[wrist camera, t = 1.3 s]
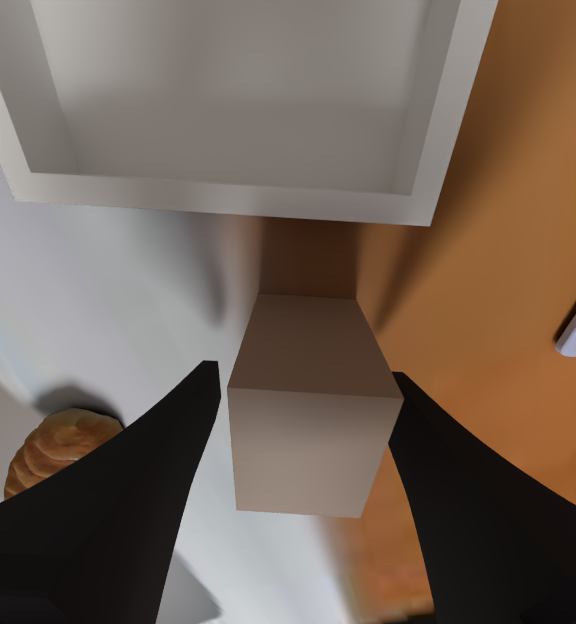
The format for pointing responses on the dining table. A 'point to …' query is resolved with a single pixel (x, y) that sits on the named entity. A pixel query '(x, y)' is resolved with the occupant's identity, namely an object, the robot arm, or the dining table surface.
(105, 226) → the dining table surface
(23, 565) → the robot arm
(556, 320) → the dining table surface
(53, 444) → the pastry
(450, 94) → the bin
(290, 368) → the beige block
